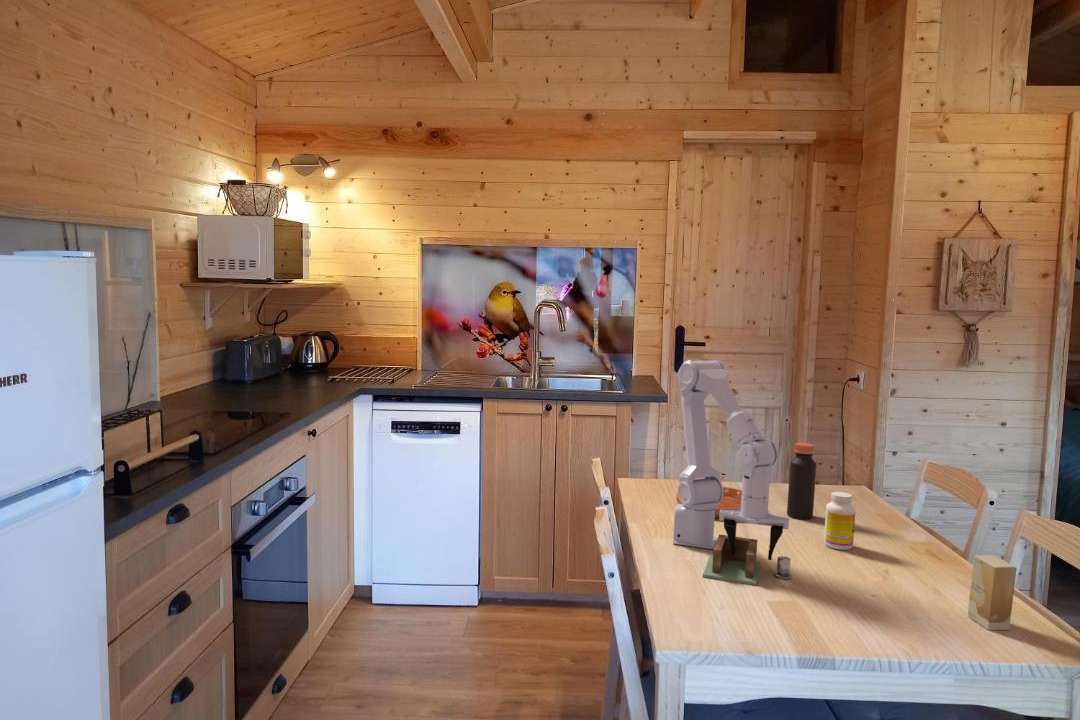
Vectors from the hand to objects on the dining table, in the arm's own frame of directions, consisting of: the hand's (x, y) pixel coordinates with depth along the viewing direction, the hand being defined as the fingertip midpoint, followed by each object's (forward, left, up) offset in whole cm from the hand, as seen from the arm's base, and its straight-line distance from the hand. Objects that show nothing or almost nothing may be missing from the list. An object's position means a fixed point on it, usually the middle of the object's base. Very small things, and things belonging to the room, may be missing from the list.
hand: (751, 555), depth 164 cm
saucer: (-12, +45, -3) cm, 47 cm away
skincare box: (+44, -10, -3) cm, 45 cm away
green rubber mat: (-4, -2, -3) cm, 5 cm away
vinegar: (+10, +47, -3) cm, 48 cm away
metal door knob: (+7, -2, -3) cm, 8 cm away
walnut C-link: (-3, -2, -2) cm, 5 cm away
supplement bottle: (+19, +25, -3) cm, 31 cm away
